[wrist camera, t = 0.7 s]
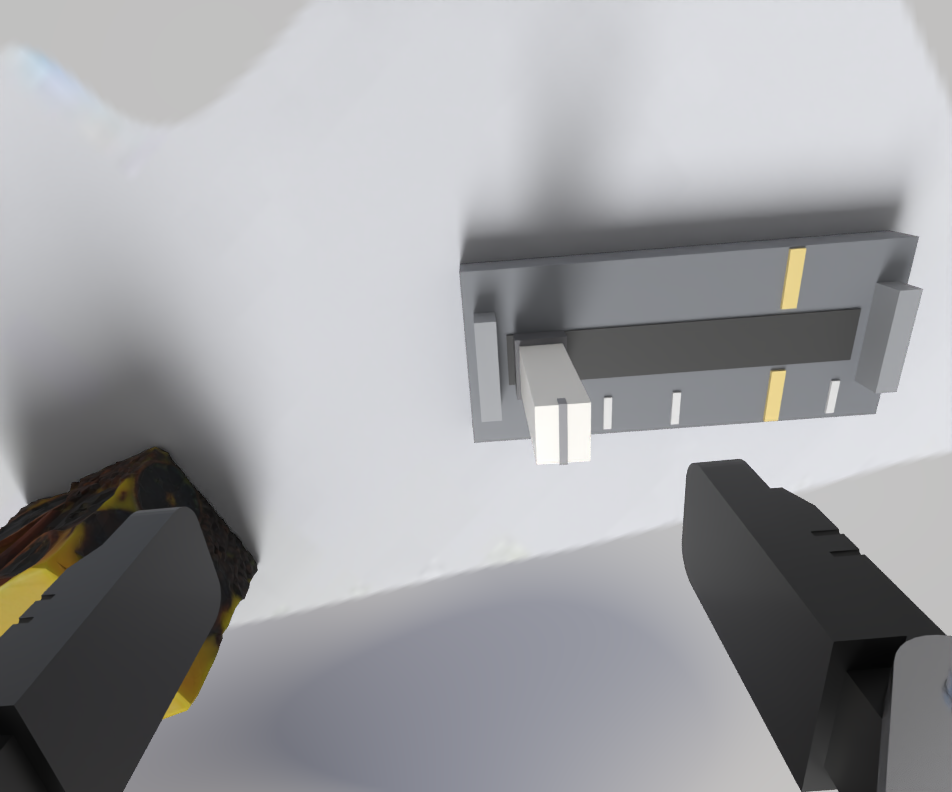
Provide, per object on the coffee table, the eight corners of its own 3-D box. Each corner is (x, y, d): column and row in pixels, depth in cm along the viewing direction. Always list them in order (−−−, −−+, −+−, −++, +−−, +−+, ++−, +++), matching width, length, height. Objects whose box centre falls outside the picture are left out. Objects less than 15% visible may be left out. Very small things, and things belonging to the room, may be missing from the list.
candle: (24, 503, 33) (-145, 638, 24) (161, 437, 31) (36, 556, 22) (137, 618, 37) (28, 773, 28) (265, 565, 35) (194, 711, 26)
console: (459, 264, 28) (458, 280, 24) (888, 230, 27) (946, 242, 24) (473, 425, 31) (474, 458, 28) (851, 397, 31) (897, 427, 28)
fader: (513, 333, 26) (528, 399, 20) (563, 330, 26) (597, 394, 19) (515, 391, 28) (531, 472, 21) (564, 387, 28) (596, 468, 21)
